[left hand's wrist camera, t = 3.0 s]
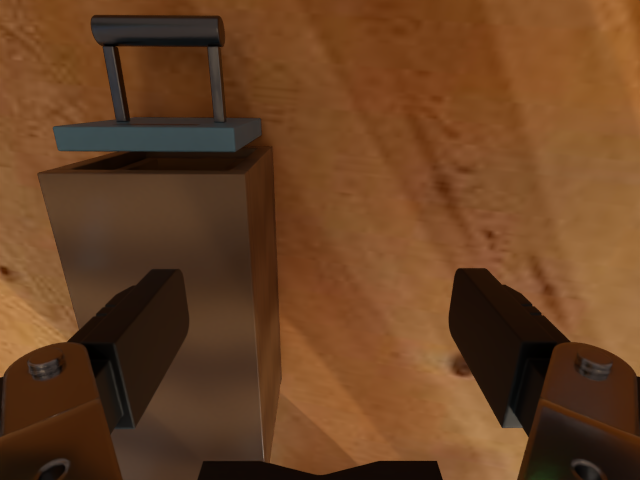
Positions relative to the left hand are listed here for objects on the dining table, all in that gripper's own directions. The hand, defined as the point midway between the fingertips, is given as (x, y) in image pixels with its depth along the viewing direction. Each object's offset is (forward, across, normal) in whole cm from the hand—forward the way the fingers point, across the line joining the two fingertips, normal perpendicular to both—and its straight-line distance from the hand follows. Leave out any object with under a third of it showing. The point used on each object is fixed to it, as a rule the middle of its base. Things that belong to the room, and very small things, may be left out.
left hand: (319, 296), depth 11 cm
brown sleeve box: (+19, -9, -9) cm, 23 cm away
